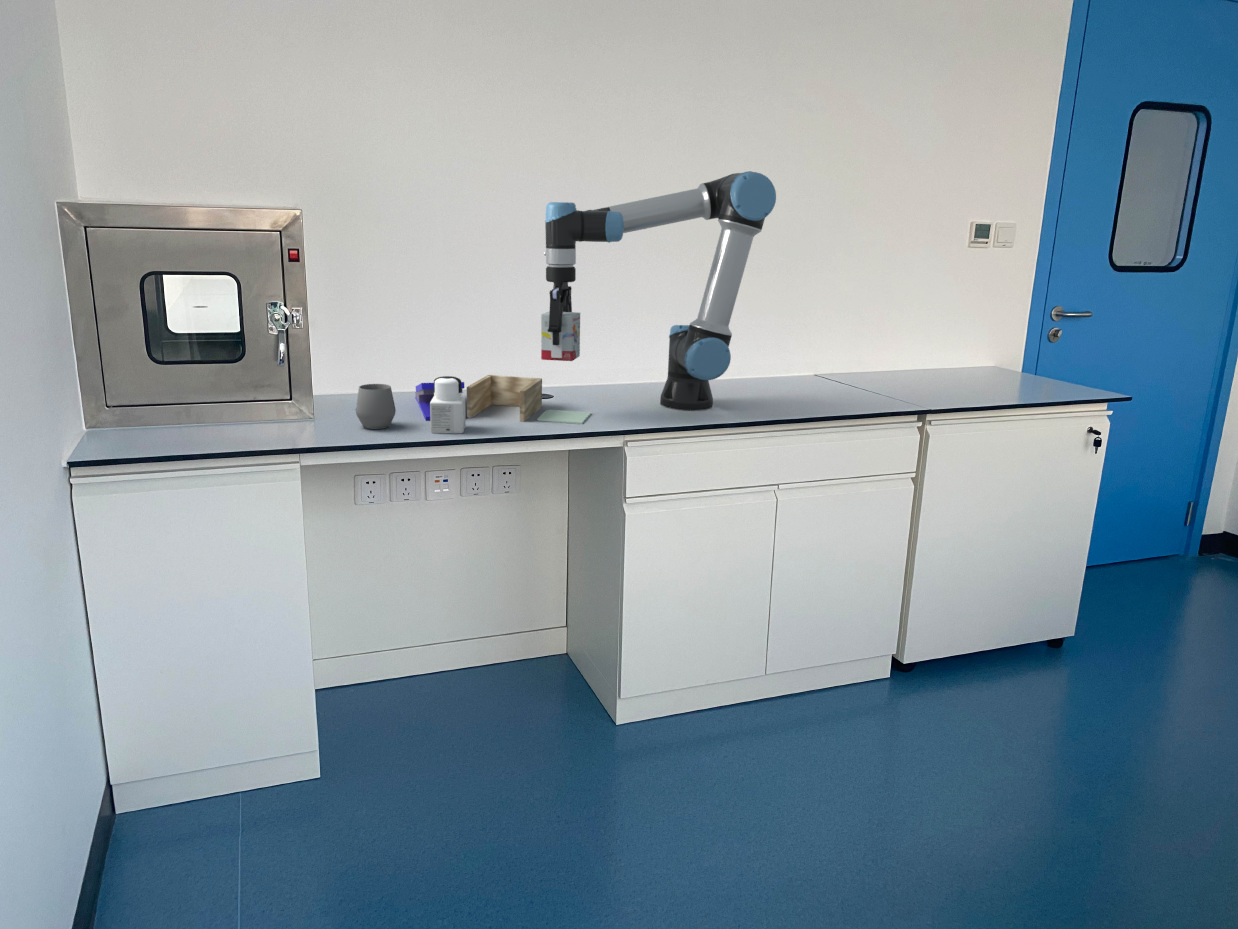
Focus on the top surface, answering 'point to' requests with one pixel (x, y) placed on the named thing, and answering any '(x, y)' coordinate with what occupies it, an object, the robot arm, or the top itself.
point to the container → (447, 406)
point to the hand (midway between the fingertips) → (561, 354)
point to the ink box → (569, 337)
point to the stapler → (426, 397)
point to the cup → (375, 406)
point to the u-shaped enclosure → (505, 394)
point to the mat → (564, 416)
